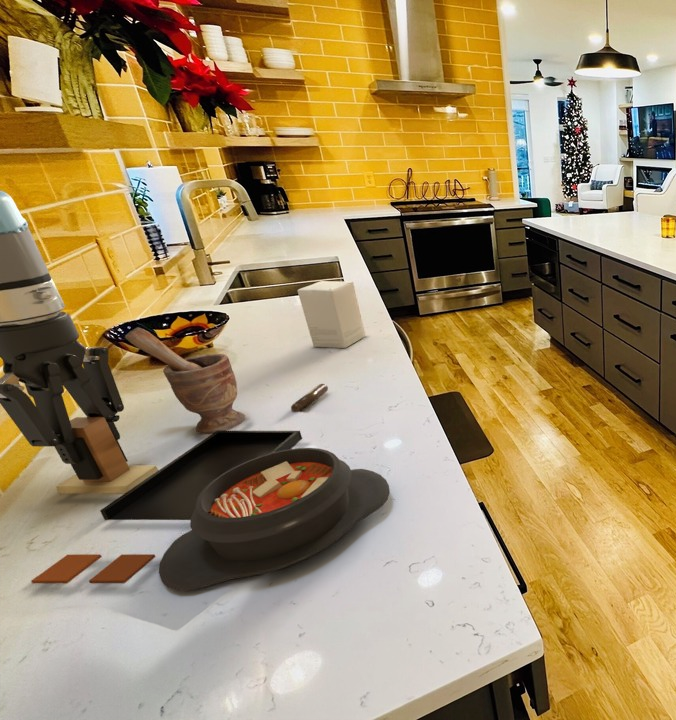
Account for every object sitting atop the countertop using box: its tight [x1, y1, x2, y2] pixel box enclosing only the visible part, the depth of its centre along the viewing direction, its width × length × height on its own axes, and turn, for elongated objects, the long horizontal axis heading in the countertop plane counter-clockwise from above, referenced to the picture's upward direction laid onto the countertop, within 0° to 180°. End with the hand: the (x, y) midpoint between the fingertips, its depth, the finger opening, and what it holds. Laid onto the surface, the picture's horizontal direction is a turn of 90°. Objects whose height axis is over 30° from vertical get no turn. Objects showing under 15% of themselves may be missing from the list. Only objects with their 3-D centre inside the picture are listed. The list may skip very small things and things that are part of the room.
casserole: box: [158, 447, 390, 591], centre depth 64 cm, size 25×19×8 cm
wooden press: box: [55, 416, 160, 494], centre depth 72 cm, size 10×5×11 cm, turn 90°
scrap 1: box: [30, 553, 102, 584], centre depth 59 cm, size 4×4×2 cm
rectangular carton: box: [296, 280, 367, 349], centre depth 126 cm, size 9×9×15 cm
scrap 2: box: [88, 553, 156, 584], centre depth 59 cm, size 4×4×2 cm
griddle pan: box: [99, 383, 329, 521], centre depth 84 cm, size 14×39×3 cm, turn 0°
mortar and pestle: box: [124, 326, 246, 435], centre depth 85 cm, size 12×9×20 cm
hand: (104, 469), depth 73 cm, fingers closed on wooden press, 3 cm apart
